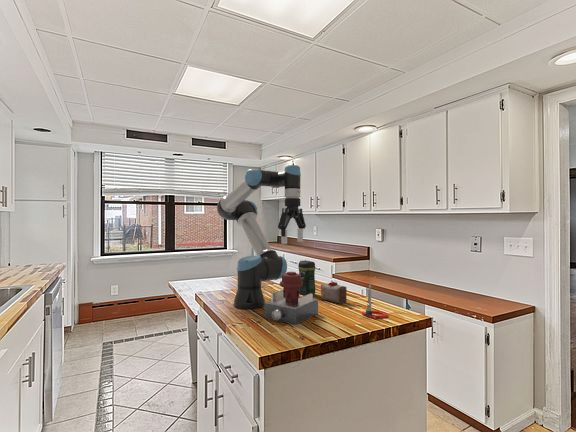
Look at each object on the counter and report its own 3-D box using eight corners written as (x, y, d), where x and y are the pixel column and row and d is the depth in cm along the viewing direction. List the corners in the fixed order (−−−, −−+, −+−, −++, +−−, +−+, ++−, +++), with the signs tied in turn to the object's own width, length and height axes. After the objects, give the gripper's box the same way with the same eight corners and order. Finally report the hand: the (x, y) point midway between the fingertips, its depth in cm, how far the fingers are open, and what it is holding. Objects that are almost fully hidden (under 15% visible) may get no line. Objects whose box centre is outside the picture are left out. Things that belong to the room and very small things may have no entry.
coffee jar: (317, 294, 182) (317, 261, 182) (306, 296, 177) (306, 262, 177) (307, 291, 189) (307, 259, 190) (296, 293, 185) (296, 260, 185)
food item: (318, 299, 170) (318, 280, 170) (328, 297, 176) (328, 278, 176) (339, 304, 160) (339, 284, 160) (349, 302, 166) (349, 282, 166)
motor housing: (260, 319, 137) (260, 296, 137) (288, 308, 154) (288, 287, 154) (291, 326, 128) (291, 302, 128) (318, 313, 145) (318, 292, 145)
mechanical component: (304, 298, 146) (300, 304, 136) (282, 297, 148) (277, 303, 138) (304, 270, 146) (300, 274, 136) (282, 270, 148) (277, 273, 138)
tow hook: (376, 312, 149) (360, 314, 144) (377, 281, 149) (361, 283, 144) (392, 317, 141) (375, 320, 136) (393, 285, 141) (376, 286, 136)
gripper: (283, 196, 143) (283, 244, 143) (312, 199, 163) (312, 241, 163) (270, 197, 147) (270, 244, 147) (299, 199, 168) (299, 240, 168)
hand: (292, 242), depth 155 cm, fingers open, 13 cm apart
